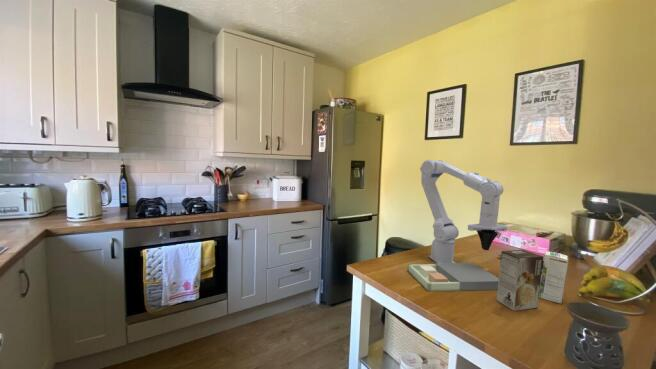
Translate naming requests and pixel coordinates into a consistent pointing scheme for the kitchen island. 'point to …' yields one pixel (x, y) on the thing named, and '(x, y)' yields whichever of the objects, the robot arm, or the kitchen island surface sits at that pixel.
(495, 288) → the slate board
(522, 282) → the coffee box
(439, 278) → the peach square block
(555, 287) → the syrup box
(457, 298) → the kitchen island surface
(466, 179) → the robot arm
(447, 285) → the tray
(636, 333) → the kitchen island surface
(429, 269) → the tile
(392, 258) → the kitchen island surface
